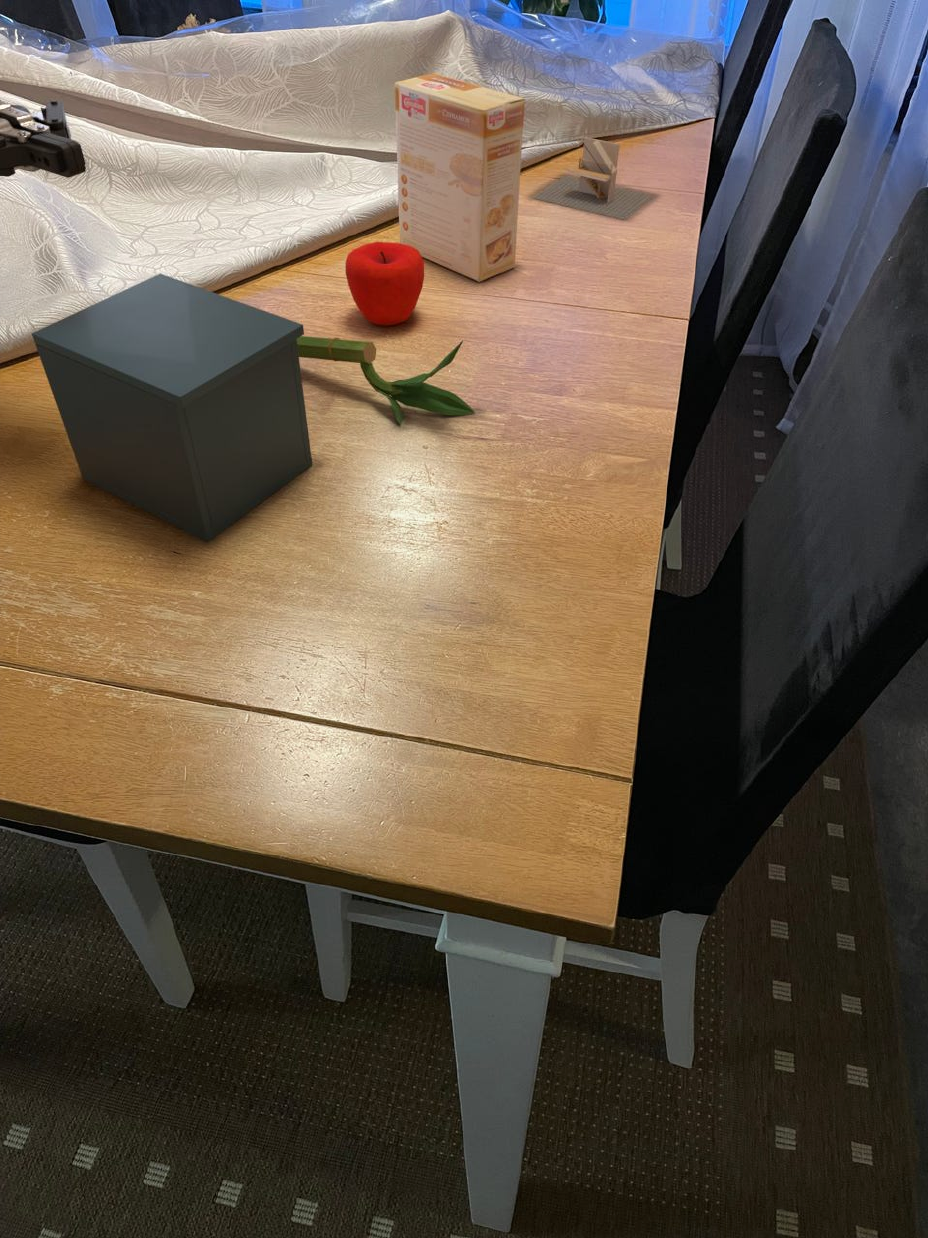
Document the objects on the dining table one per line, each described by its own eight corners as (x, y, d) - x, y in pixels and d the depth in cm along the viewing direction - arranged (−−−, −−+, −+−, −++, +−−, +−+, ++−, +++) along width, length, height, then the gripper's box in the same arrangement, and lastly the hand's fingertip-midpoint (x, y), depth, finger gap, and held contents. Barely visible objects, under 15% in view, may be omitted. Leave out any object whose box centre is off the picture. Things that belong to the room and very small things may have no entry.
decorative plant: (251, 313, 98) (483, 330, 84) (266, 386, 102) (488, 414, 88) (212, 327, 94) (449, 346, 79) (228, 402, 98) (456, 434, 84)
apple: (401, 293, 107) (399, 228, 102) (439, 323, 102) (439, 256, 96) (336, 311, 104) (330, 244, 98) (371, 342, 98) (367, 274, 93)
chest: (312, 464, 82) (296, 331, 72) (207, 542, 74) (173, 403, 64) (192, 412, 88) (162, 282, 78) (82, 479, 80) (34, 343, 70)
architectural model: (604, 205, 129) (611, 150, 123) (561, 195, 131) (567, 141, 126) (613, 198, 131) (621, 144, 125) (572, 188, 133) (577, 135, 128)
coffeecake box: (516, 267, 113) (527, 97, 99) (478, 283, 110) (484, 109, 96) (435, 233, 120) (435, 70, 107) (397, 247, 117) (392, 80, 103)
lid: (304, 334, 72) (303, 324, 72) (182, 407, 64) (180, 397, 63) (162, 282, 78) (160, 272, 78) (34, 343, 70) (31, 333, 70)
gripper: (-170, 81, 65) (-22, 126, 58) (-14, 46, 72) (132, 82, 66) (-124, 188, 70) (16, 241, 63) (17, 145, 78) (155, 187, 71)
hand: (75, 160), depth 65 cm, fingers closed
